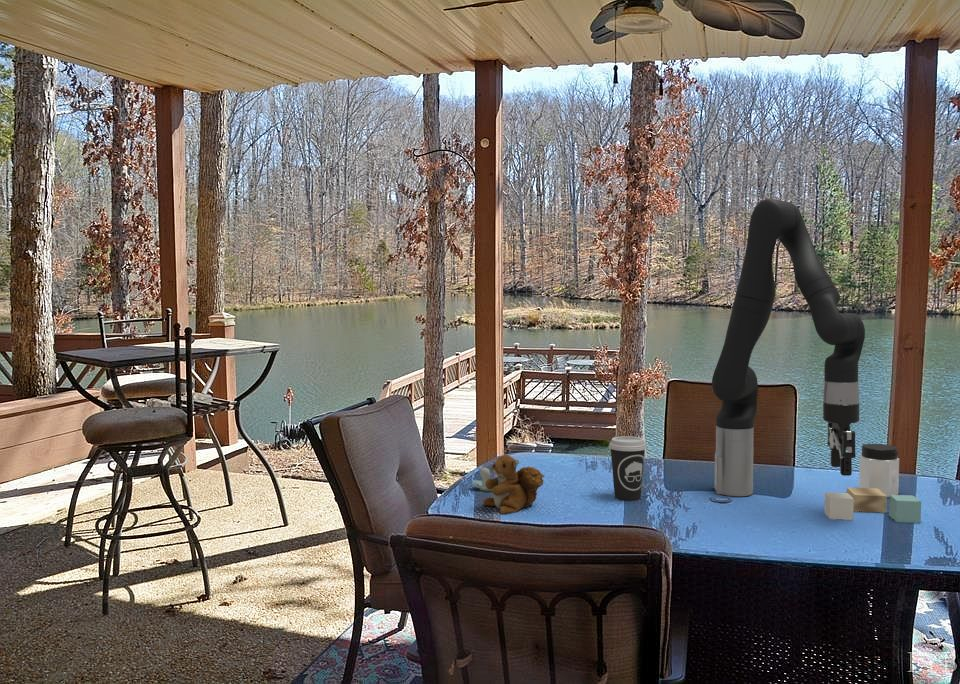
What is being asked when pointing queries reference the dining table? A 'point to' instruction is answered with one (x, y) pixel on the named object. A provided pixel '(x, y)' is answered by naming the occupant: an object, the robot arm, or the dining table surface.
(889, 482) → the jar
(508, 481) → the stuffed squirrel
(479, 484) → the pacifier
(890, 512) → the teal cube
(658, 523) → the dining table surface
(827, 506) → the cream cube
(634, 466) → the coffee cup
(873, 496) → the base block
